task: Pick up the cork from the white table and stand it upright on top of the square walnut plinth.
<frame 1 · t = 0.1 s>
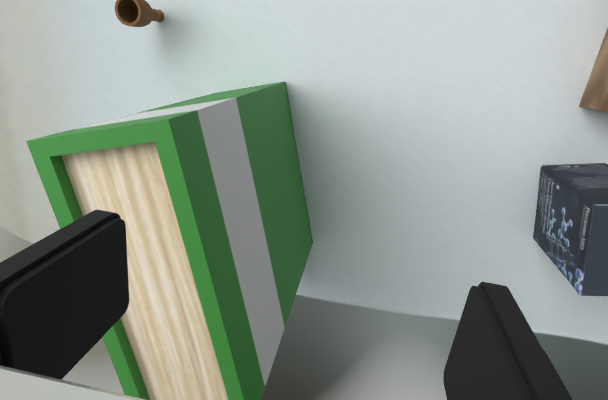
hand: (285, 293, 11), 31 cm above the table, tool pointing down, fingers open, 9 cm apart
hardback book: (266, 170, 43), on the table
box: (565, 201, 39), on the table
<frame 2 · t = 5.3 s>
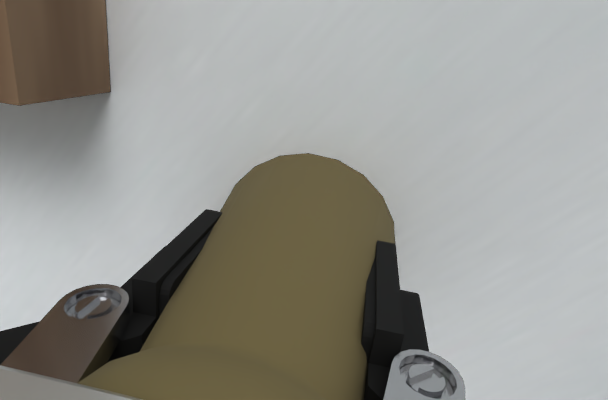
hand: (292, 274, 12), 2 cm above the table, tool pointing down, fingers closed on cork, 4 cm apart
cork: (306, 236, 14), on the table, touching gripper
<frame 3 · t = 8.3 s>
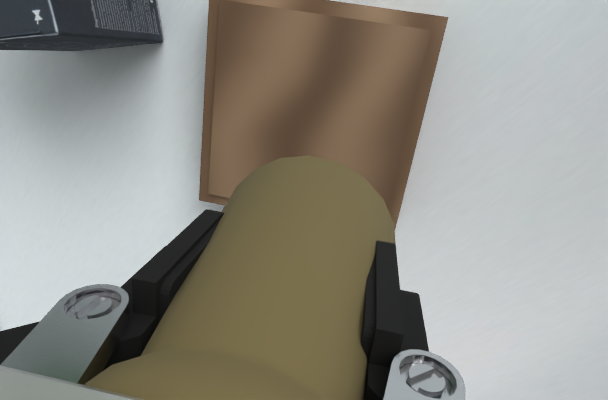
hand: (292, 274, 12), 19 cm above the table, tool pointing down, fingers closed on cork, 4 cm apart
walnut plinth: (315, 112, 29), on the table
cork: (307, 238, 14), point 17 cm above the table, touching gripper
box: (110, 6, 29), on the table
when the fingers open (8 cm above the table, at t = 11.4 s): cork drops 1 cm, resting on walnut plinth.
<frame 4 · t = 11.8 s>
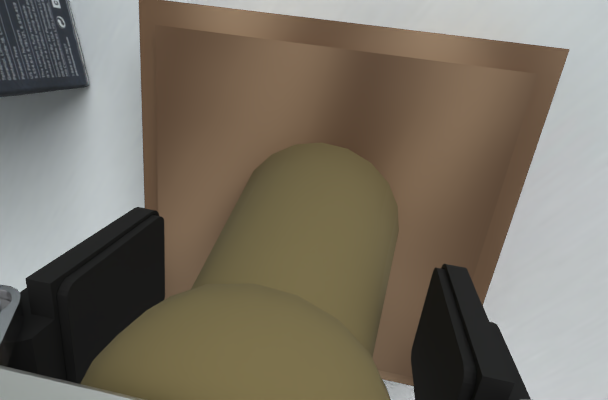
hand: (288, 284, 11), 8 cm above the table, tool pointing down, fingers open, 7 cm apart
walnut plinth: (324, 189, 19), on the table
cork: (317, 219, 15), point 4 cm above the table, touching walnut plinth
box: (8, 33, 19), on the table
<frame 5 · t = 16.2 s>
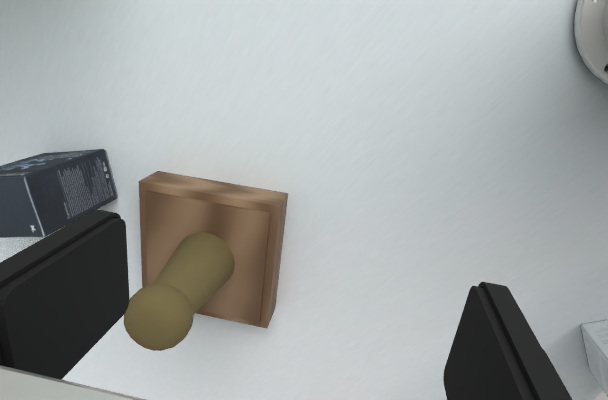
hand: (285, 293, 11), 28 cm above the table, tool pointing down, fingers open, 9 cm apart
walnut plinth: (218, 242, 44), on the table
cork: (206, 258, 40), point 4 cm above the table, touching walnut plinth
box: (82, 174, 44), on the table
skincare box: (606, 341, 40), on the table
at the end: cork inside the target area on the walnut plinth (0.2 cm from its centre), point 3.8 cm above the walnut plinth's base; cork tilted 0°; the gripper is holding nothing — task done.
